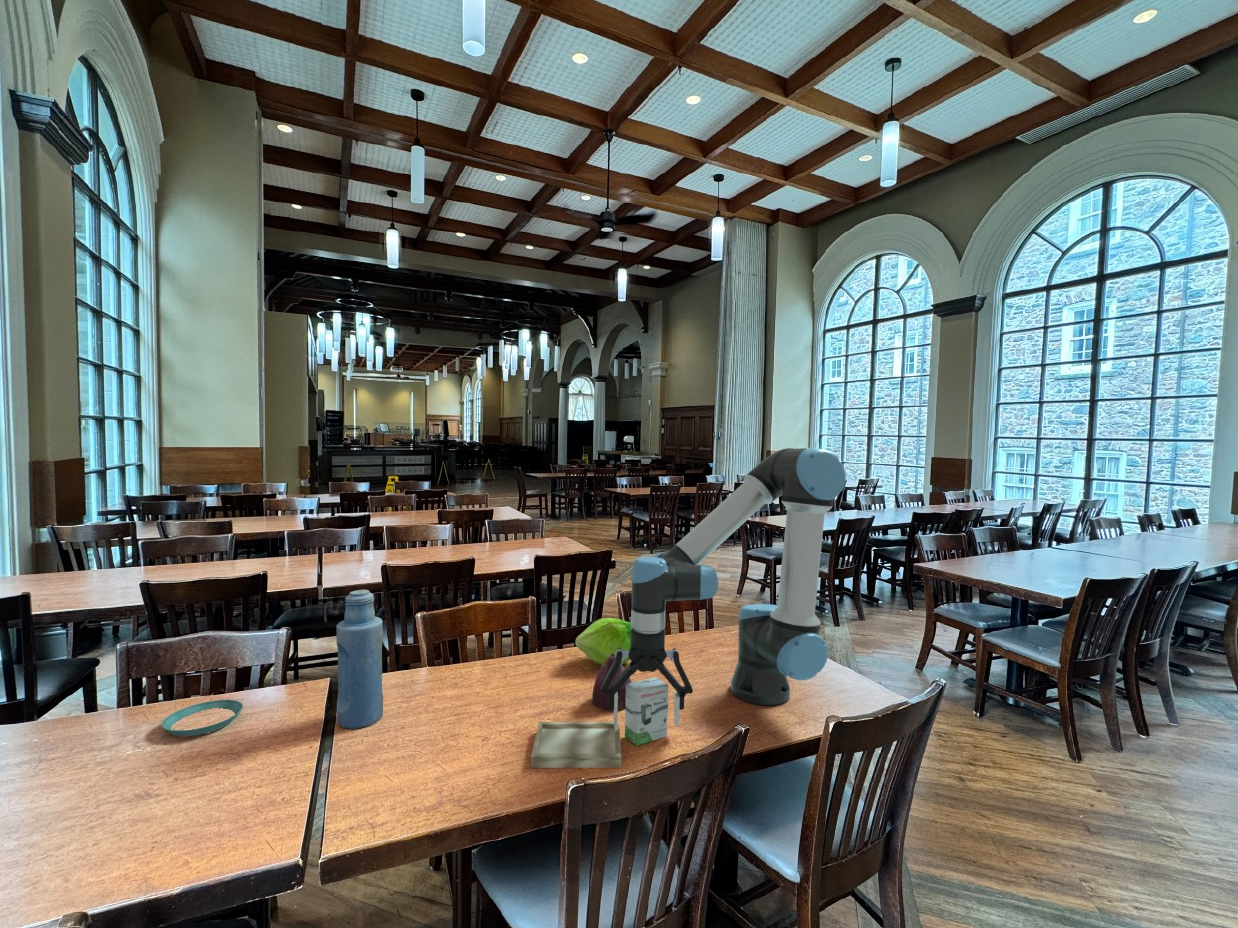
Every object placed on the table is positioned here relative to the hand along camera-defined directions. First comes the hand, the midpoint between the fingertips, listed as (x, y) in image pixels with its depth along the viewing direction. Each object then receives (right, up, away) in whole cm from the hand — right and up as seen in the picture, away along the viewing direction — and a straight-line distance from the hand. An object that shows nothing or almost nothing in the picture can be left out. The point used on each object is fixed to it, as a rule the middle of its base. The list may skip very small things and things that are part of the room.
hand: (645, 723), depth 122 cm
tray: (-15, -3, -5) cm, 16 cm away
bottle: (-66, -2, +6) cm, 66 cm away
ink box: (0, -3, 0) cm, 3 cm away
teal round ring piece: (-100, -2, +3) cm, 100 cm away
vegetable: (-8, -3, +17) cm, 19 cm away
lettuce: (-9, -2, +42) cm, 43 cm away
